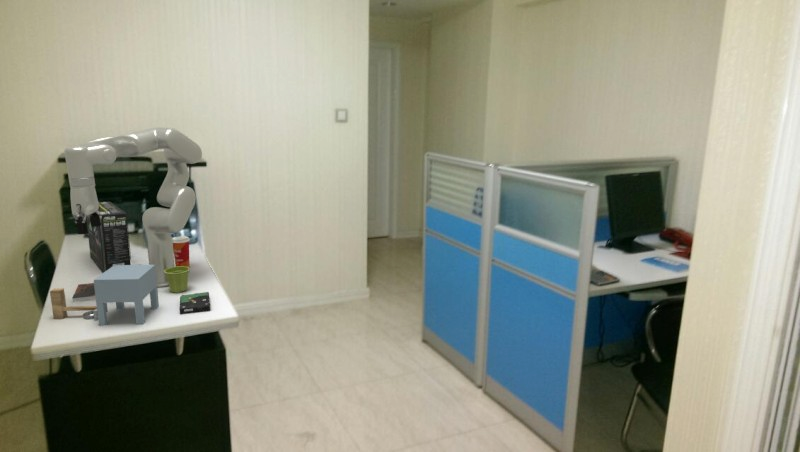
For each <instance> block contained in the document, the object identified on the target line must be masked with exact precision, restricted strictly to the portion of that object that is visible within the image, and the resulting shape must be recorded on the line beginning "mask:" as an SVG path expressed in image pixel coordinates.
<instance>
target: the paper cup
mask: <svg viewBox="0 0 800 452" xmlns="http://www.w3.org/2000/svg"><path fill="white" fill-rule="evenodd" d="M172 240H173V253H174V265H175V267H177V266H186V267H189V268H190V241H191V240H190V237H188V236H186V235H180V236H175V237H172Z"/></svg>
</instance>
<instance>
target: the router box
mask: <svg viewBox="0 0 800 452" xmlns="http://www.w3.org/2000/svg"><path fill="white" fill-rule="evenodd" d="M99 212H100V222H101V226H99V227H92V226H91V222H90V216H92V215H88V216H86V222H87V228H88V234H87V235H88V248H89V256H90V259H91V260H92V261H93V262H94V264H95V265H96V266H97V268H99V270H100V271H101V272H102V274H103V273H104V272H105V271H107V270H108V269H110V268H111V267H112V266H114V265H132V264H131V260H132V255H131V251H130V250H131V245H130V235H129V224H128V223H129V222H128V216H127V212H125V211H124V210H122V209H121V208H120V207H118V206H117V205H115V204H114V202H113V203H112V202H111V201H102V202H100V201H99ZM98 216H99V215H98Z"/></svg>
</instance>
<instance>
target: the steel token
mask: <svg viewBox="0 0 800 452" xmlns="http://www.w3.org/2000/svg"><path fill="white" fill-rule="evenodd" d="M93 311H94V310H90V311H85V312H84V313H83V314H82V318H83V320H94V313H93Z"/></svg>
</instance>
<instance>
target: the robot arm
mask: <svg viewBox="0 0 800 452" xmlns="http://www.w3.org/2000/svg"><path fill="white" fill-rule="evenodd" d="M159 150H163V156H164V158H165V161H166V164H167V173H166V175H165V177H164V180H163V182H162V184H161V185H160V187H159V190H158V192H157V195H156V201H157V203H158V204H159V205H160V206H162V207H159V206H158V207H157V206H155V207H154V206H153V207H149V208H148V209H146V210H145V211H144V212H143V214H142V217H141V218H142V220H141V221H142V226H143V230H144V233H145V238H146V245H147V257H148V265H155V269H156V280H157V288H163V287H164V288H165V287H169V283H168V279H167V276H166V273H164V270H166V269H168V268H171V267H176V265H175V259H174V252H173V240H172V238H173V237H172V234H178V233H180V232H181V231H182V230H183V229H184V228H185V226H186V225H187V222H188V220H189V218H190V216H191V213H192V211H193V209H194V208H195V205H196V200H197V199H196V192H195V191H194V189H193V188H192V187H190V186H187V185H188V182H189V179H190V171H189V168H188V164H191V165H193V164H196V163H198V162H200V161H201V159H202V157H203V151H202V148H201V147H200V145H199V144H198V143H196V142H195V141H194V140H192V139H191V138H189V137H188V136H187V135H185V134H183V132H181V131H180V130H179V129H176V128H173V127H157V126H156V127H152V128H151V127H150V128H146V129H144V130H139V131H135V132H131V133H126V134H119V135H115V136H111V137H103V138H98V139H95V140H91V141H89V140H88V141H86V142H83V143H81V144H79V145H73V146H67V147H65V149H64V158H65V163H66V170H67V174H68V182H69V187H70V194H69V195H70V206H71V215H72V217H73V220H74V223H75V225H76V230H77V231H76V232H77V234H78V235H88V228H87V218H86V216H88V215H92V216H90V222H91V226H92V227H99V226H101V222H100V212H99V202H100V201H99V200H98V195H97V191H96V182H95V174H94V166H109V165H112V164H113V163H115V161H116V159H117V158H120V157H121V158H122V157H123V158H126V157H127V158H128V157H138V156H141V155H144V154H149V153H151V152H154V151H159ZM165 207H167V208H165ZM98 215H99V216H98Z"/></svg>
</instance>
